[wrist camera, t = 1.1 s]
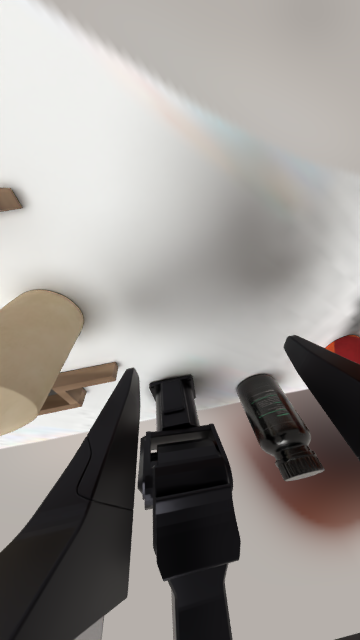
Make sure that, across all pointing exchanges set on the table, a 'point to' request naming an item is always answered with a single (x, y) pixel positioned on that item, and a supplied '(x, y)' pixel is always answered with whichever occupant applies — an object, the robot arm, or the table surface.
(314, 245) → the table surface
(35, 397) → the candle
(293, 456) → the supplement bottle
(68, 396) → the trap lane
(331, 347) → the paper cup
